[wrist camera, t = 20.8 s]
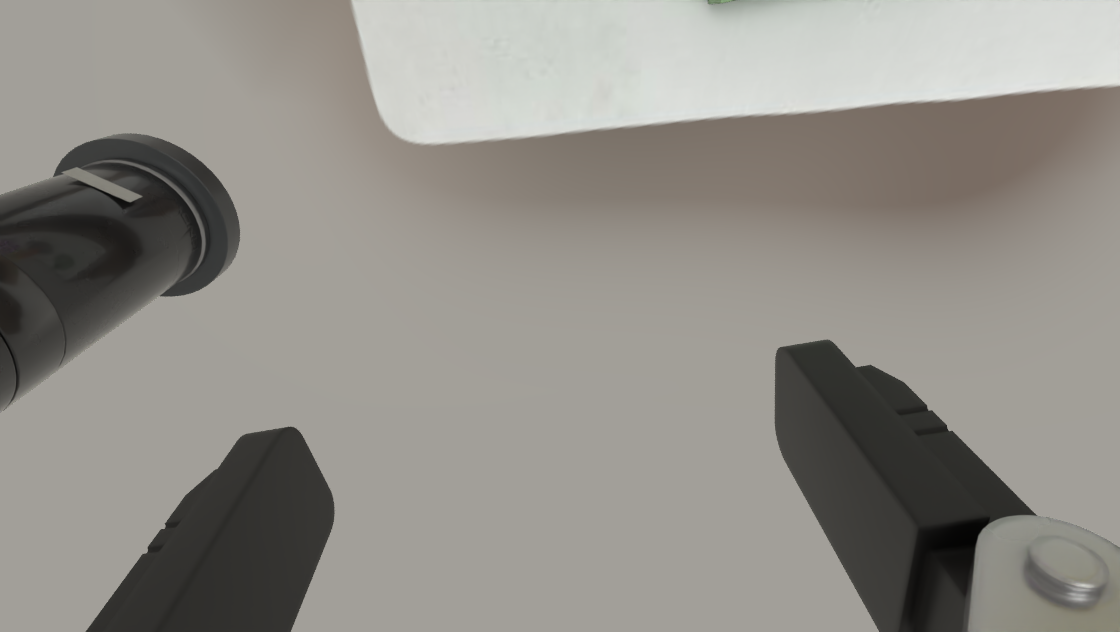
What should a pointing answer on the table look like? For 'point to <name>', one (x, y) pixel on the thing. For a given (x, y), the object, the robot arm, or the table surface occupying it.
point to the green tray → (718, 1)
